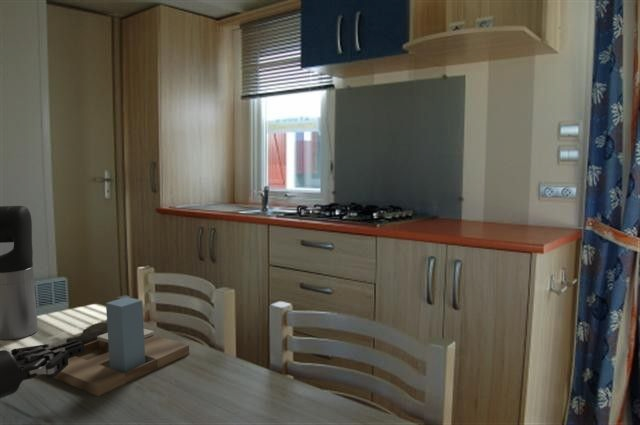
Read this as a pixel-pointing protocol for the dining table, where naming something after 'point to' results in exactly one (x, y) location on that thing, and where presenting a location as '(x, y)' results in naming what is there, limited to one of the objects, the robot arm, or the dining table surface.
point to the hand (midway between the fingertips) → (80, 346)
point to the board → (98, 378)
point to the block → (125, 334)
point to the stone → (91, 333)
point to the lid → (105, 336)
